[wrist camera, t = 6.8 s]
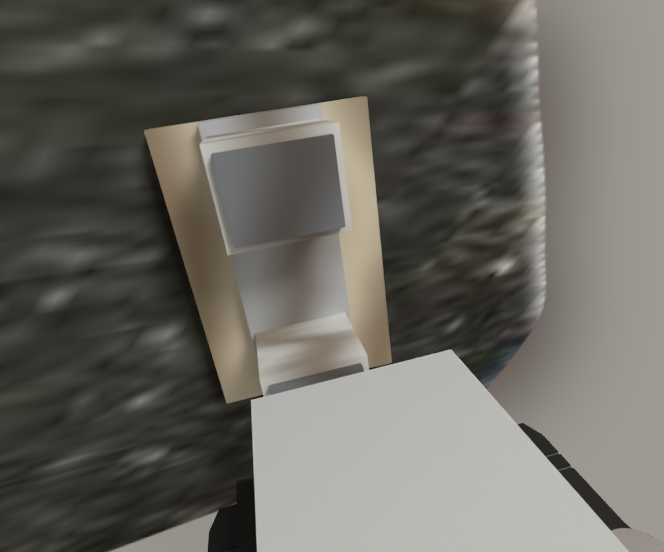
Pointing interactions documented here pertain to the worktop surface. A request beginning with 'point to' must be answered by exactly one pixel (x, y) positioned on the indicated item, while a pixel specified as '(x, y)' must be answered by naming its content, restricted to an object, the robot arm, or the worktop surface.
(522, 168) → the worktop surface
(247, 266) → the rail board
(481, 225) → the worktop surface
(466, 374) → the block
